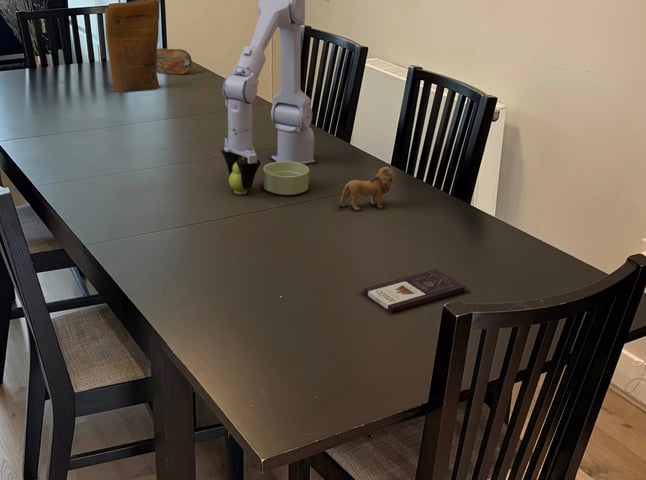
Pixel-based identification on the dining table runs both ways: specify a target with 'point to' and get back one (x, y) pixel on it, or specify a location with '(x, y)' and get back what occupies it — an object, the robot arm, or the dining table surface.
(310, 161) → the robot arm
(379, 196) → the lion figurine
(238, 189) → the pear
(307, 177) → the bowl
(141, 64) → the pancake mix bag
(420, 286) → the chocolate bar
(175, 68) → the tin
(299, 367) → the dining table surface
